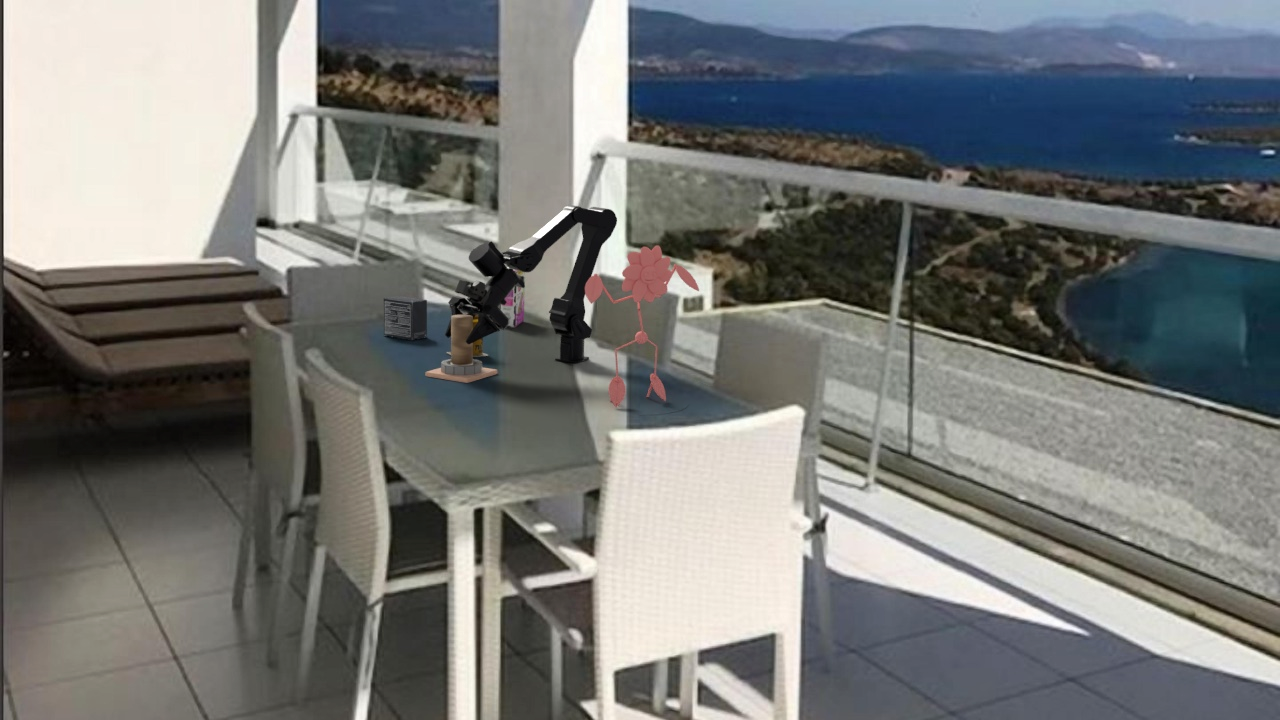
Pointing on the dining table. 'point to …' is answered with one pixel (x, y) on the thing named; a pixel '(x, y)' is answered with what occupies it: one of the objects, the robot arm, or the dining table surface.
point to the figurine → (644, 283)
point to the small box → (405, 317)
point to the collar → (461, 372)
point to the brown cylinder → (461, 340)
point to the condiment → (476, 343)
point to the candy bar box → (514, 304)
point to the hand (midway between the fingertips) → (456, 339)
